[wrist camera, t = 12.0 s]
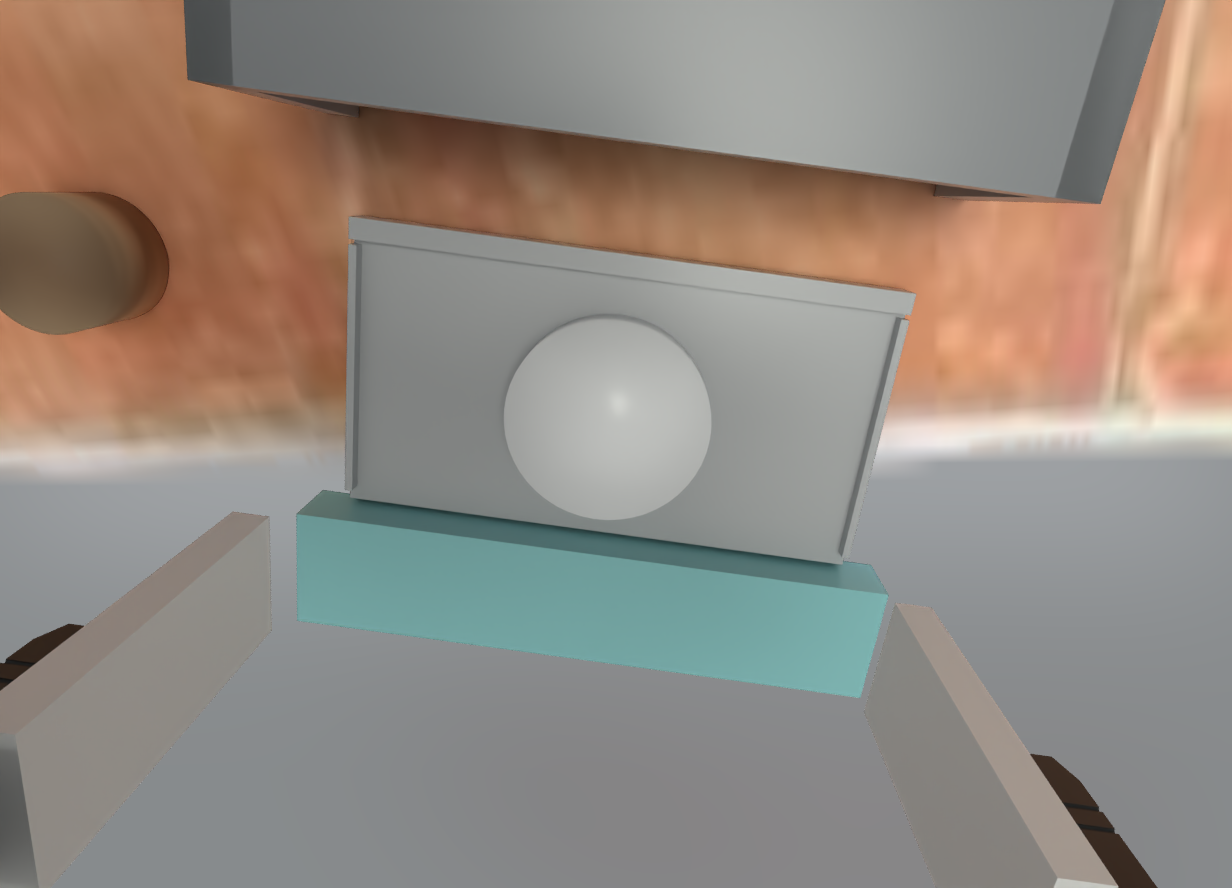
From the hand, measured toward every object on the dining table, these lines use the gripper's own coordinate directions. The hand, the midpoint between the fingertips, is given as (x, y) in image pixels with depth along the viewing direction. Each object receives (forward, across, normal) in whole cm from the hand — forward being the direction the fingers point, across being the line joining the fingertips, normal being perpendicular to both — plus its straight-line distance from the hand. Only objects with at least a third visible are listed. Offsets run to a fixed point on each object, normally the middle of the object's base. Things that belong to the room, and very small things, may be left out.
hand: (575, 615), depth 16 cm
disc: (+16, 0, 0) cm, 16 cm away
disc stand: (+16, -21, +3) cm, 27 cm away
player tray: (+16, 0, -2) cm, 16 cm away
